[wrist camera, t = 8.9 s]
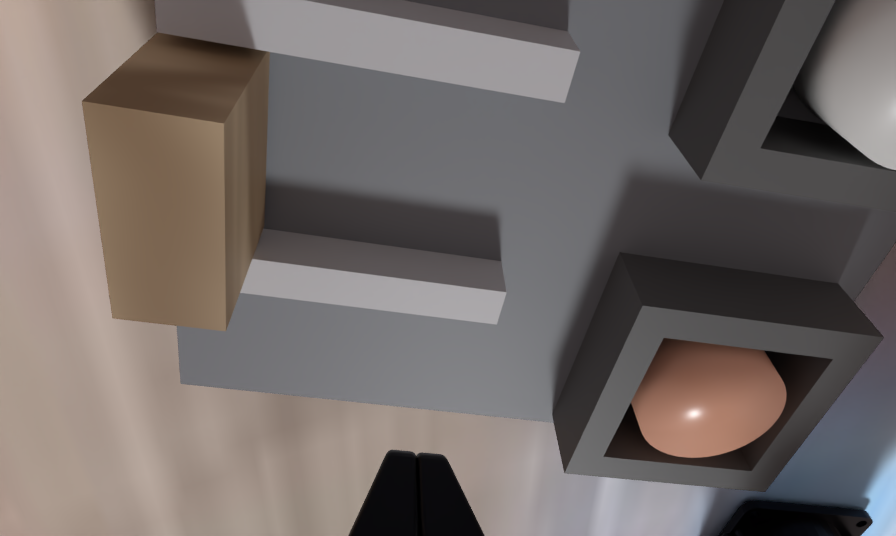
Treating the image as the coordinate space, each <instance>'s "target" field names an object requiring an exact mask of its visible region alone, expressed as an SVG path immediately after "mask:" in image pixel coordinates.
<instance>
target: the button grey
mask: <svg viewBox="0 0 896 536" xmlns="http://www.w3.org/2000/svg"><path fill="white" fill-rule="evenodd" d="M793 85H794V88H795V90H796V93H797V95H798V97H799V98H800V100H801V101H802V102H803V104H804V105H805V106H806V107H807V108H808V109H809V110H810V111H811V112H812V113H814V114H815V115H816V116H817V117H819V118H820V119H821V120H822V121H824V122H825V123H826V124H827V125H828V126H830V127H831V128H832V129H833V130H835V131H836V132H837V133H838V134H839V135H841V136H842V137H843V138H844V139H846V140H847V141H848V142H849V143H850V144H852V145H853V146H854V147H855V148H857V149H858V150H859V151H860V152H862V153H863V154H864V155H865V156H866V157H868V158H869V159H871V160H872V161H874V162H875V163H877V164H879V165H881V166H884V167H886V168H889V169H893V170H896V0H836V1H835V3H834V4H833V6H832V8H831V10H830V12H829V14H828V16H827V18H826V20H825V22H824V24H823V26H822V28H821V30H820V32H819V34H818V36H817V38H816V40H815V42H814V44H813V46H812V48H811V50H810V52H809V54H808V56H807V58H806V59H805V61H804V63H803V65H802V67H801V69H800V71H799V73H798V75H797V77H796V79H795V81H794V83H793Z"/></svg>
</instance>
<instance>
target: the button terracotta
mask: <svg viewBox="0 0 896 536" xmlns="http://www.w3.org/2000/svg"><path fill="white" fill-rule="evenodd" d="M786 394H787V393H786V387H785V385H784V382H783V380H782V379H781V377H780V375H779V374H778V372H777V371H776V369H775V367H774V366H773V364H772V362H771V361H770V359H769V358H768V356H767V354H766V353H765V351H764V350H757V349H749V348H741V347H733V346H725V345H717V344H709V343H702V342H694V341H686V340H678V339H670V338H663V340H662V342H661V344H660V346H659V348H658V350H657V352H656V354H655V356H654V358H653V360H652V362H651V364H650V366H649V368H648V370H647V372H646V374H645V376H644V378H643V380H642V381H641V383H640V385H639V387H638V389H637V391H636V393H635V395H634V397H633V399H632V401H631V404H632V407H633V409H634V412H635V415H636V418H637V421H638V424H639V427H640V430H641V432H642V435H643V436H644V438H645V440H646V441H647V442H648V443H649V444H650V445H651V446H653V447H654V448H656V449H657V450H659V451H661V452H664V453H666V454H669V455H673V456H678V457H688V458H699V457H709V456H715V455H720V454H723V453H727V452H730V451H733V450H736V449H738V448H740V447H742V446H745V445H747V444H748V443H750V442H752V441H754V440H755V439H757V438H758V437H760V436H761V435H762V434H764V433H765V432H766V431H767V430H768V429H769V428H770V427H771V426H772V425H773V424H774V423H775V422H776V421H777V419H778V418H779V416H780V415H781V413H782V411H783V409H784V406H785V403H786Z"/></svg>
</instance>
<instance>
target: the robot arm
mask: <svg viewBox="0 0 896 536" xmlns="http://www.w3.org/2000/svg"><path fill="white" fill-rule="evenodd" d="M872 523H873V522H872V519H871V517H870V516H869V514H868V513H867V512H866V511H864V510H854V509H843V508H833V507H822V506H811V505H800V504H789V503H778V502H767V501H756V500H755V501H748V502H746V503H744V504H743V505H741V507H740V508H739V509H738V511H737V512H736V513H735V515H734V516H733V517H732V519H731V520H730V521H729V523H728V524H727V525H726V527H725V528H724V529H723V531H722V532H721V533H720V535H719V536H861V535H862V534H863V533H864V532H865V531H866V529H867V528H868V527H869V526H870V525H871V524H872ZM349 536H484V534H483V532H482V530H481V527H480V525H479V523H478V521H477V519H476V517H475V515H474V513H473V511H472V509H471V507H470V505H469V503H468V501H467V499H466V497H465V495H464V493H463V491H462V489H461V486H460V484H459V482H458V480H457V478H456V476H455V474H454V472H453V470H452V468H451V466H450V464H449V462H448V460H447V459H446V457H445V456H443V455H441V454H432V453H419V454H417V456H416V455H415V454H414V453H413V452H410V451H399V450H390V451H388V452H387V454H386V456H385V458H384V460H383V462H382V464H381V466H380V469H379V471H378V473H377V475H376V477H375V479H374V482H373V484H372V486H371V488H370V490H369V492H368V495H367V497H366V499H365V501H364V503H363V505H362V508H361V510H360V512H359V514H358V516H357V518H356V520H355V523H354V525H353V527H352V529H351V531H350V533H349Z"/></svg>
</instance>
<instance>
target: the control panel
mask: <svg viewBox="0 0 896 536" xmlns="http://www.w3.org/2000/svg"><path fill="white" fill-rule="evenodd" d="M835 1H836V0H155V13H156V28H157V33H158V32H159V33H164V34H170V35H176V36H182V37H187V38H193V39H199V40H205V41H210V42H216V43H222V44H228V45H233V46H239V47H245V48H251V49H256V50H262V51H268V52H270V63H269V94H268V126H267V158H266V190H265V222H264V228H263V231H262V234H261V236H260V239H259V242H258V245H257V247H256V250H255V253H254V256H253V258H252V261H251V264H250V267H249V269H248V272H247V275H246V278H245V280H244V283H243V286H242V289H241V291H240V294H239V297H238V300H237V302H236V305H235V308H234V311H233V313H232V316H231V319H230V322H229V324H228V327H227V330H226V331H218V330H210V329H201V328H192V327H184V326H177V336H178V351H179V366H180V380H181V384H188V385H198V386H207V387H217V388H226V389H236V390H246V391H255V392H265V393H274V394H284V395H293V396H303V397H313V398H322V399H332V400H341V401H351V402H360V403H370V404H380V405H389V406H399V407H408V408H418V409H428V410H437V411H447V412H456V413H466V414H475V415H485V416H495V417H504V418H514V419H523V420H533V421H543V422H552V423H554V426H555V431H556V435H557V440H558V445H559V450H560V454H561V459H562V464H563V469H564V473H567V474H578V475H589V476H599V477H610V478H621V479H631V480H642V481H653V482H663V483H674V484H685V485H695V486H706V487H717V488H727V489H738V490H749V491H759V492H765V491H766V490H767V489H768V487H769V486H770V485H771V484H772V482H773V481H774V480H775V478H776V477H777V476H778V474H779V473H780V472H781V471H782V469H783V468H784V467H785V465H786V464H787V463H788V461H789V460H790V459H791V458H792V456H793V455H794V454H795V452H796V451H797V450H798V448H799V447H800V446H801V445H802V443H803V442H804V441H805V439H806V438H807V437H808V436H809V434H810V433H811V432H812V430H813V429H814V428H815V426H816V425H817V424H818V423H819V421H820V420H821V419H822V417H823V416H824V415H825V413H826V412H827V411H828V410H829V408H830V407H831V406H832V404H833V403H834V402H835V400H836V399H837V398H838V397H839V395H840V394H841V393H842V391H843V390H844V389H845V387H846V386H847V385H848V384H849V382H850V381H851V380H852V378H853V377H854V376H855V374H856V373H857V372H858V371H859V369H860V368H861V367H862V365H863V364H864V363H865V362H866V360H867V359H868V358H869V356H870V355H871V354H872V352H873V351H874V350H875V349H876V347H877V346H878V345H879V343H880V342H881V341H882V339H883V338H884V337H883V336H882V335H881V333H880V332H879V331H878V330H877V329H876V328H875V326H874V325H873V324H872V323H871V322H870V320H869V319H868V318H867V317H866V316H865V315H864V313H863V312H862V311H861V310H860V309H859V308H858V306H857V305H856V304H855V303H854V301H855V299H856V298H857V296H858V295H859V294H860V292H861V291H862V289H863V288H864V286H865V285H866V284H867V282H868V281H869V279H870V278H871V277H872V275H873V274H874V272H875V271H876V269H877V268H878V267H879V265H880V264H881V262H882V261H883V259H884V258H885V257H886V255H887V254H888V252H889V251H890V250H891V248H892V247H893V245H894V244H895V242H896V170H893V169H889V168H886V167H884V166H881V165H879V164H877V163H875V162H874V161H872V160H871V159H869V158H868V157H866V156H865V155H864V154H863V153H862V152H860V151H859V150H858V149H857V148H855V147H854V146H853V145H852V144H850V143H849V142H848V141H847V140H846V139H844V138H843V137H842V136H841V135H839V134H838V133H837V132H836V131H835V130H833V129H832V128H831V127H830V126H828V125H827V124H826V123H825V122H824V121H822V120H821V119H820V118H819V117H817V116H816V115H815V114H814V113H812V112H811V111H810V110H809V109H808V108H807V107H806V106H805V105H804V104H803V102H802V101H801V100H800V98H799V97H798V95H797V93H796V90H795V88H794V85H793V83H794V81H795V79H796V77H797V75H798V73H799V71H800V69H801V67H802V65H803V63H804V61H805V59H806V58H807V56H808V54H809V52H810V50H811V48H812V46H813V44H814V42H815V40H816V38H817V36H818V34H819V32H820V30H821V28H822V26H823V24H824V22H825V20H826V18H827V16H828V14H829V12H830V10H831V8H832V6H833V4H834V3H835ZM663 338H670V339H678V340H686V341H694V342H702V343H709V344H717V345H725V346H733V347H741V348H749V349H757V350H764V351H765V353H766V354H767V356H768V358H769V359H770V361H771V362H772V364H773V366H774V367H775V369H776V371H777V372H778V374H779V375H780V377H781V379H782V380H783V382H784V385H785V387H786V393H787V394H786V403H785V406H784V409H783V411H782V413H781V415H780V416H779V418H778V419H777V421H776V422H775V423H774V424H773V425H772V426H771V427H770V428H769V429H768V430H767V431H766V432H765V433H764V434H762V435H761V436H760V437H758V438H757V439H755V440H754V441H752V442H750V443H748V444H747V445H745V446H742V447H740V448H738V449H736V450H733V451H730V452H727V453H723V454H720V455H715V456H709V457H699V458H688V457H678V456H673V455H669V454H666V453H664V452H661V451H659V450H657V449H656V448H654V447H653V446H651V445H650V444H649V443H648V442H647V441H646V440H645V438H644V436H643V435H642V432H641V430H640V427H639V424H638V421H637V418H636V415H635V412H634V409H633V407H632V404H631V401H632V399H633V397H634V395H635V393H636V391H637V389H638V387H639V385H640V383H641V381H642V380H643V378H644V376H645V374H646V372H647V370H648V368H649V366H650V364H651V362H652V360H653V358H654V356H655V354H656V352H657V350H658V348H659V346H660V344H661V342H662V340H663Z"/></svg>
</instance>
